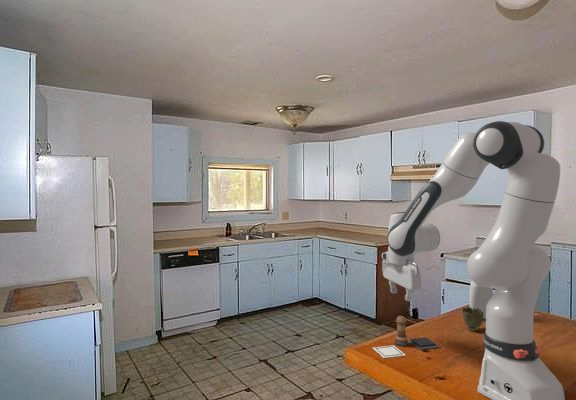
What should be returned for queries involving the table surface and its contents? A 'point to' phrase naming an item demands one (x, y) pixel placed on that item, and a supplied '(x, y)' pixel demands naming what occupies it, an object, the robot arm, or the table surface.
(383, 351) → the white flat square plate
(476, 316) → the cup
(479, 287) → the soap bottle
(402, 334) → the stamp
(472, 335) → the table surface
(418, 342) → the ink pad
